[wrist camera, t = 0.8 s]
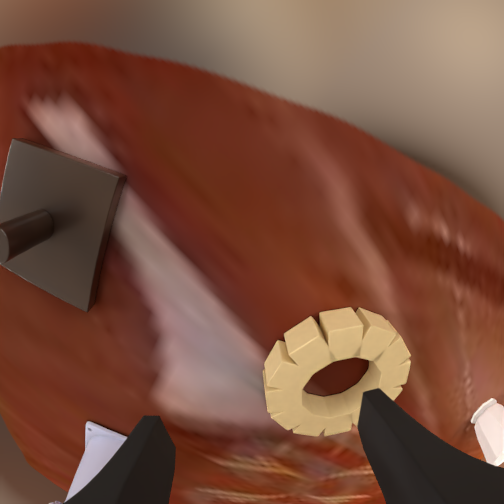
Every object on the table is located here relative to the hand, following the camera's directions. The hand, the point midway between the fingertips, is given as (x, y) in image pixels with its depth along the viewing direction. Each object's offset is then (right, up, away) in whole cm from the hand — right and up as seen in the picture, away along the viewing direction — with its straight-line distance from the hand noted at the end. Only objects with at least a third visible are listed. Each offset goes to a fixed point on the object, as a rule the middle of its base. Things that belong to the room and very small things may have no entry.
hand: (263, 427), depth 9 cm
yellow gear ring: (+6, -2, +11) cm, 13 cm away
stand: (-13, +8, +7) cm, 17 cm away
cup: (+30, -15, +16) cm, 38 cm away
